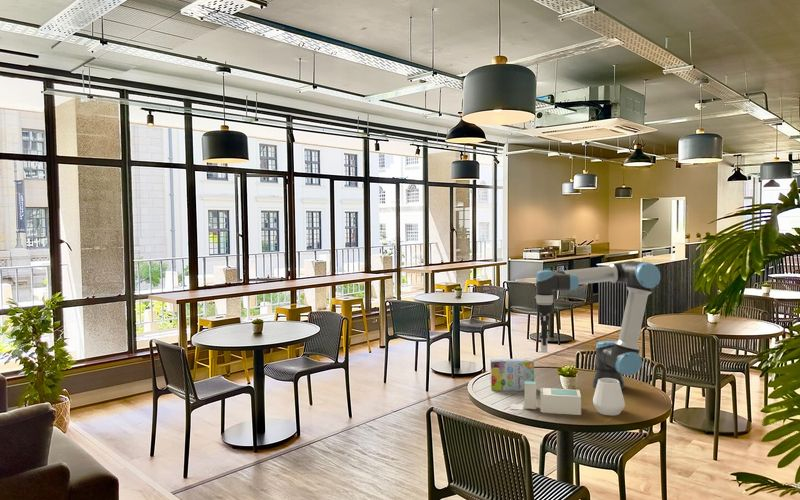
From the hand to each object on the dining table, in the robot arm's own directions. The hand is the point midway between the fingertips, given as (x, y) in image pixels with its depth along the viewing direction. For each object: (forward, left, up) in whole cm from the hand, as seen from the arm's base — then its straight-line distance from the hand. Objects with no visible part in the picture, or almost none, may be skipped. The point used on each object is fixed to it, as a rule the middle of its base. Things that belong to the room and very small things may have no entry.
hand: (544, 348), depth 259 cm
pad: (+12, +11, -25) cm, 30 cm away
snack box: (+16, -15, -25) cm, 33 cm away
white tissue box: (-7, +11, -25) cm, 28 cm away
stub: (+6, +11, -25) cm, 28 cm away
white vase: (-27, +10, -25) cm, 38 cm away
